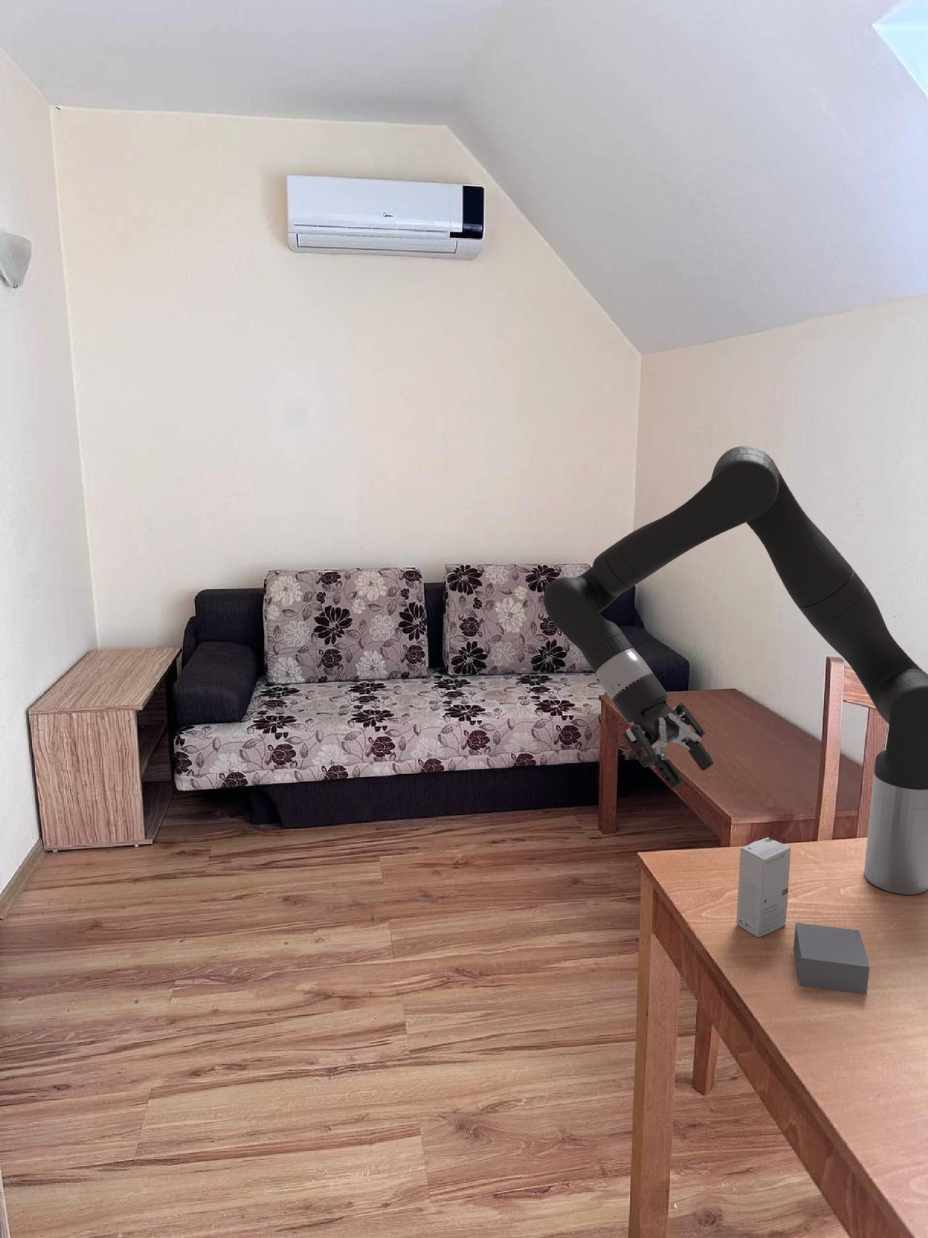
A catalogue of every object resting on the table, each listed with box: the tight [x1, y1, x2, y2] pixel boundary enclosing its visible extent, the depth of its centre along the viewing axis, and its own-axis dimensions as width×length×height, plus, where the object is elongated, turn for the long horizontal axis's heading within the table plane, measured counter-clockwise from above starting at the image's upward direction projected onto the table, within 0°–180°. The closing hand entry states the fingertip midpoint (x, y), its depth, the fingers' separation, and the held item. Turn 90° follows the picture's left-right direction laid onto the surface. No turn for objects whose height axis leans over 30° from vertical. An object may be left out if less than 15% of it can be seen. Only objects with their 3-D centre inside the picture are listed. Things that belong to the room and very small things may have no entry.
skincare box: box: [736, 837, 792, 938], centre depth 125 cm, size 6×4×12 cm
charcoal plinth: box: [793, 922, 871, 995], centre depth 116 cm, size 8×8×4 cm
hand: (693, 776), depth 130 cm, fingers open, 8 cm apart
